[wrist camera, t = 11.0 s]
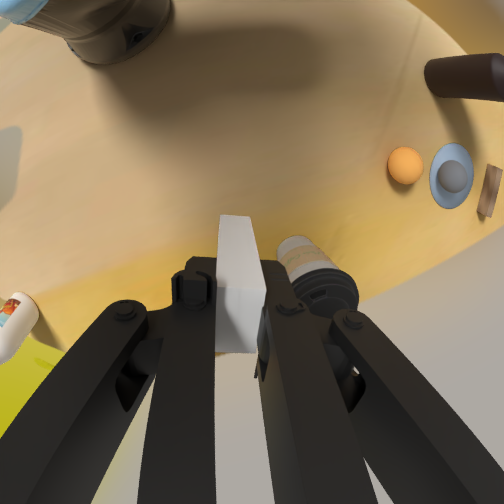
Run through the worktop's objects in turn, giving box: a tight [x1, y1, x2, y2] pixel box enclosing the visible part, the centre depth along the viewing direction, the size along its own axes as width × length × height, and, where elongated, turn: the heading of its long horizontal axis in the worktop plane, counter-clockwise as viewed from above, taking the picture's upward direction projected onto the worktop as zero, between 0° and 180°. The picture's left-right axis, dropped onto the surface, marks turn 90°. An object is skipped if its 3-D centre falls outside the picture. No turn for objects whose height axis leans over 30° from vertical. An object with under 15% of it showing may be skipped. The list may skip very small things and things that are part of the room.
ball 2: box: [438, 160, 468, 193], centre depth 36 cm, size 6×6×6 cm
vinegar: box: [424, 53, 504, 102], centre depth 22 cm, size 7×7×20 cm
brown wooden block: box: [477, 164, 503, 218], centre depth 39 cm, size 10×2×3 cm, turn 174°
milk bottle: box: [0, 292, 39, 365], centre depth 35 cm, size 8×8×20 cm
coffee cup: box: [277, 235, 359, 319], centre depth 36 cm, size 9×9×15 cm
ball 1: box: [388, 147, 423, 184], centre depth 35 cm, size 6×6×6 cm
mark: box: [430, 143, 474, 209], centre depth 39 cm, size 12×12×1 cm
